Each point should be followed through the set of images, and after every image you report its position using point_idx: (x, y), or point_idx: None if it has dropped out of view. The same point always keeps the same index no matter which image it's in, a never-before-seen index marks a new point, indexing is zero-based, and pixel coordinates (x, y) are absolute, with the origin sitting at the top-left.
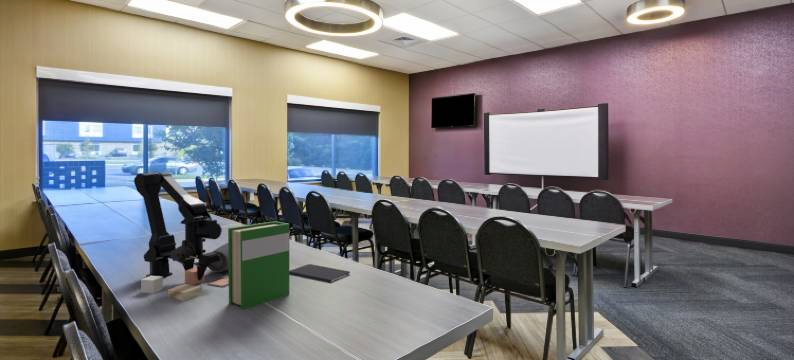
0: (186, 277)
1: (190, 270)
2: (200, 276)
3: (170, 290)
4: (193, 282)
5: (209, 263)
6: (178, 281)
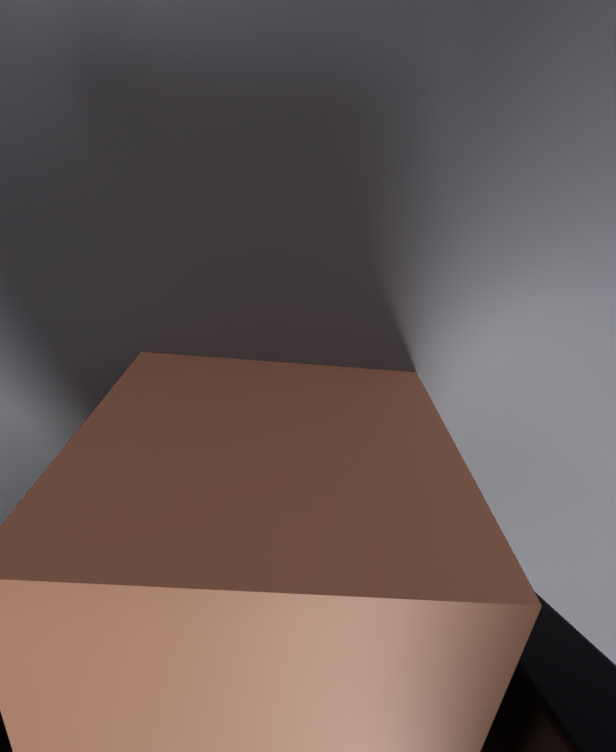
0: (389, 435)
1: (333, 682)
2: None
3: None
4: (151, 373)
5: None
6: (612, 399)
